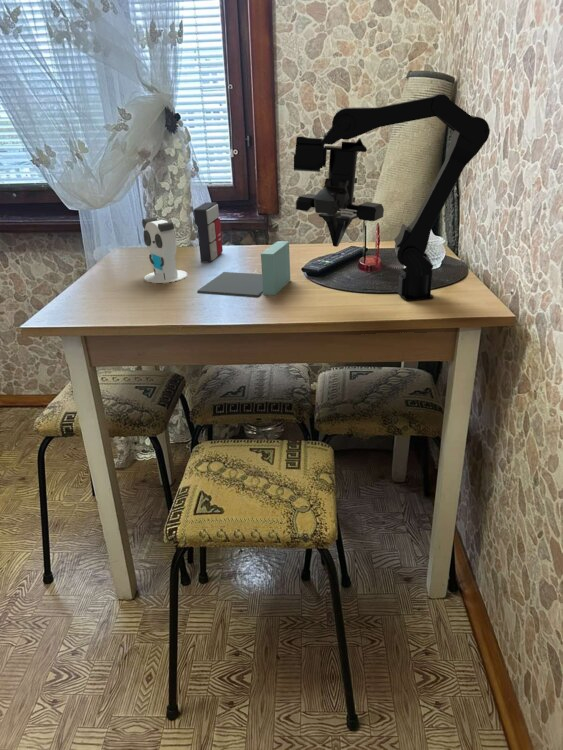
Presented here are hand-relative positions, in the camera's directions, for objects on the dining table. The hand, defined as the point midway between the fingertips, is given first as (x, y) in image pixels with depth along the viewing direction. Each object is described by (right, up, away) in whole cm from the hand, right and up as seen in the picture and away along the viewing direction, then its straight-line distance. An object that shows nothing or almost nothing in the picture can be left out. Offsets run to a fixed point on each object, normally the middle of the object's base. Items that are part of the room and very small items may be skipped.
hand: (335, 246), depth 127 cm
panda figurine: (-43, -3, +25) cm, 50 cm away
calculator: (-33, +6, +41) cm, 53 cm away
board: (-13, -7, +13) cm, 20 cm away
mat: (-23, -6, +16) cm, 29 cm away
